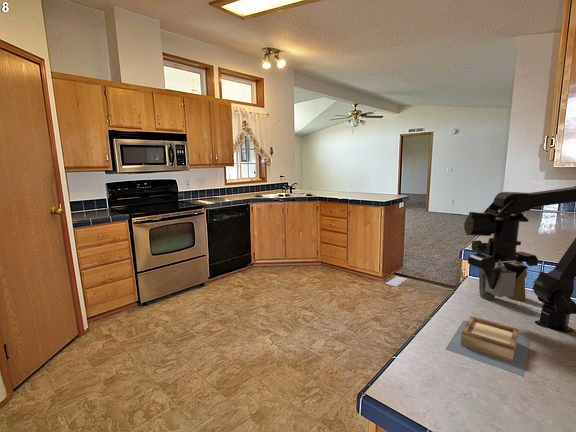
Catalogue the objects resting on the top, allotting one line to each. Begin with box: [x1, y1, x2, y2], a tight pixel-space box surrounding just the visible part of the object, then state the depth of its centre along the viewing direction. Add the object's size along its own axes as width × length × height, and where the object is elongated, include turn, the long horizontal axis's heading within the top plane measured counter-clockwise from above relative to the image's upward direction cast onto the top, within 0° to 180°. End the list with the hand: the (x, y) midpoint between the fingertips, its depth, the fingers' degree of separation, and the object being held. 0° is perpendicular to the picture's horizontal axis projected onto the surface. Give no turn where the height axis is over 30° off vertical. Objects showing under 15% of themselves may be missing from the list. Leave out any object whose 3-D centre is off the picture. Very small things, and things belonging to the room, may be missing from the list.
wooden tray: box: [460, 316, 519, 362], centre depth 81 cm, size 11×11×4 cm
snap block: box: [485, 266, 516, 298], centre depth 92 cm, size 5×5×8 cm
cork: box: [505, 269, 528, 302], centre depth 112 cm, size 6×6×11 cm
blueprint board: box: [445, 319, 531, 377], centre depth 82 cm, size 20×16×1 cm
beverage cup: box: [478, 254, 503, 301], centre depth 111 cm, size 7×7×20 cm
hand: (499, 288), depth 92 cm, fingers closed on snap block, 5 cm apart
